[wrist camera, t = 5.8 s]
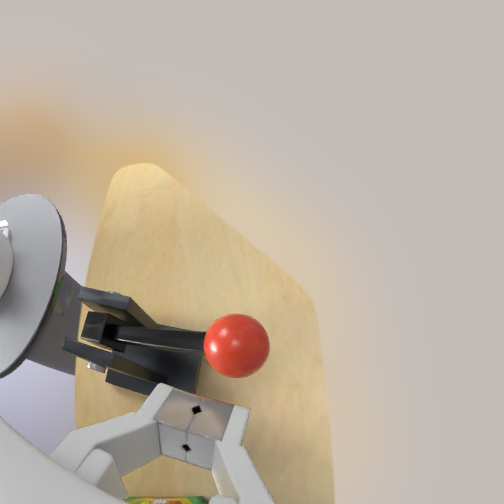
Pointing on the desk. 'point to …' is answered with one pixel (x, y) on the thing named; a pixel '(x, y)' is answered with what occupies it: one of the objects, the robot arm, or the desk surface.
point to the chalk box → (166, 500)
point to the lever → (189, 341)
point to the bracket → (134, 350)
